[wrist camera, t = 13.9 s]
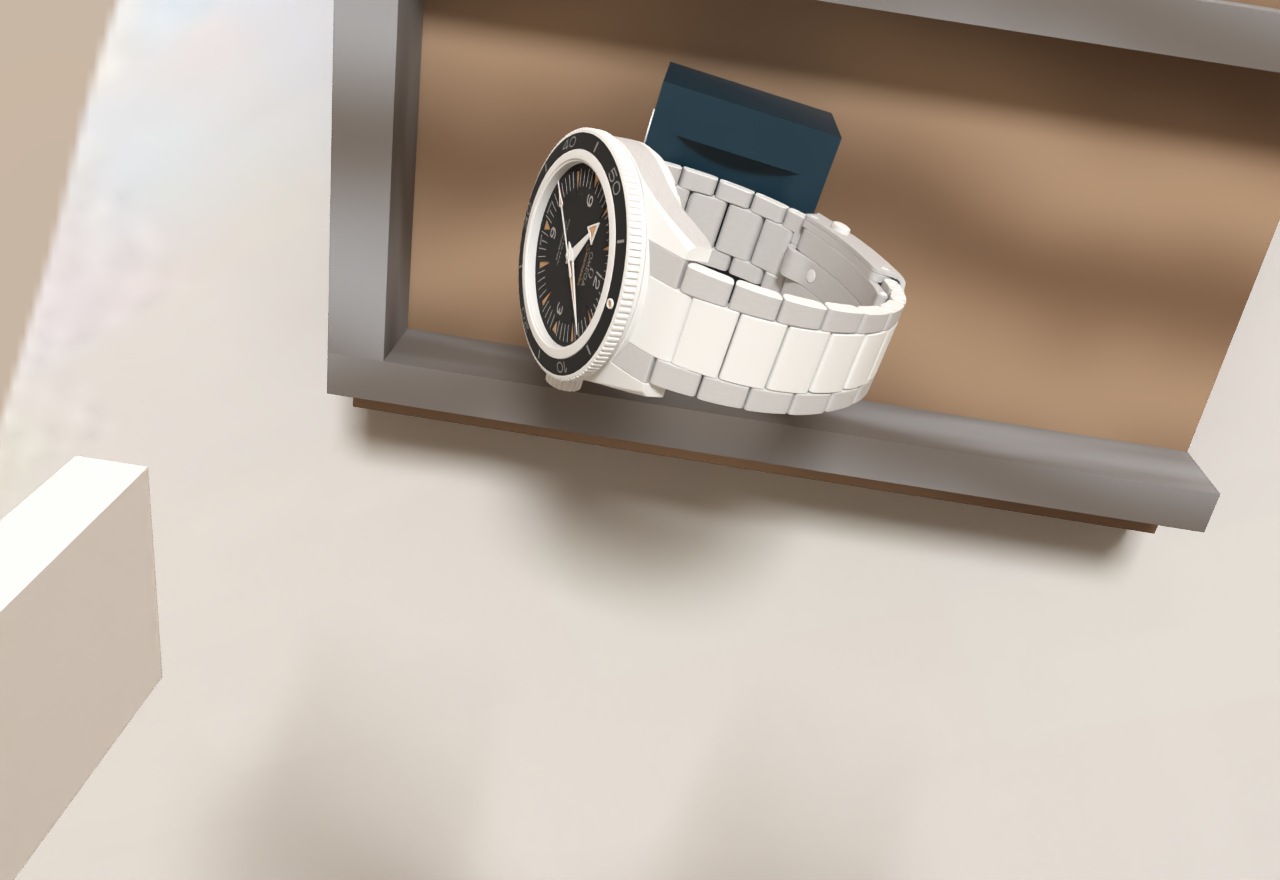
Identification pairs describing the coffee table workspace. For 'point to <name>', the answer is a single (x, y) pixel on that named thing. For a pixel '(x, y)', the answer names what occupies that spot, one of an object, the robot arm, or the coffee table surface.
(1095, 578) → the coffee table surface
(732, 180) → the watch
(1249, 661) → the coffee table surface
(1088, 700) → the coffee table surface
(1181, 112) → the wooden tray
